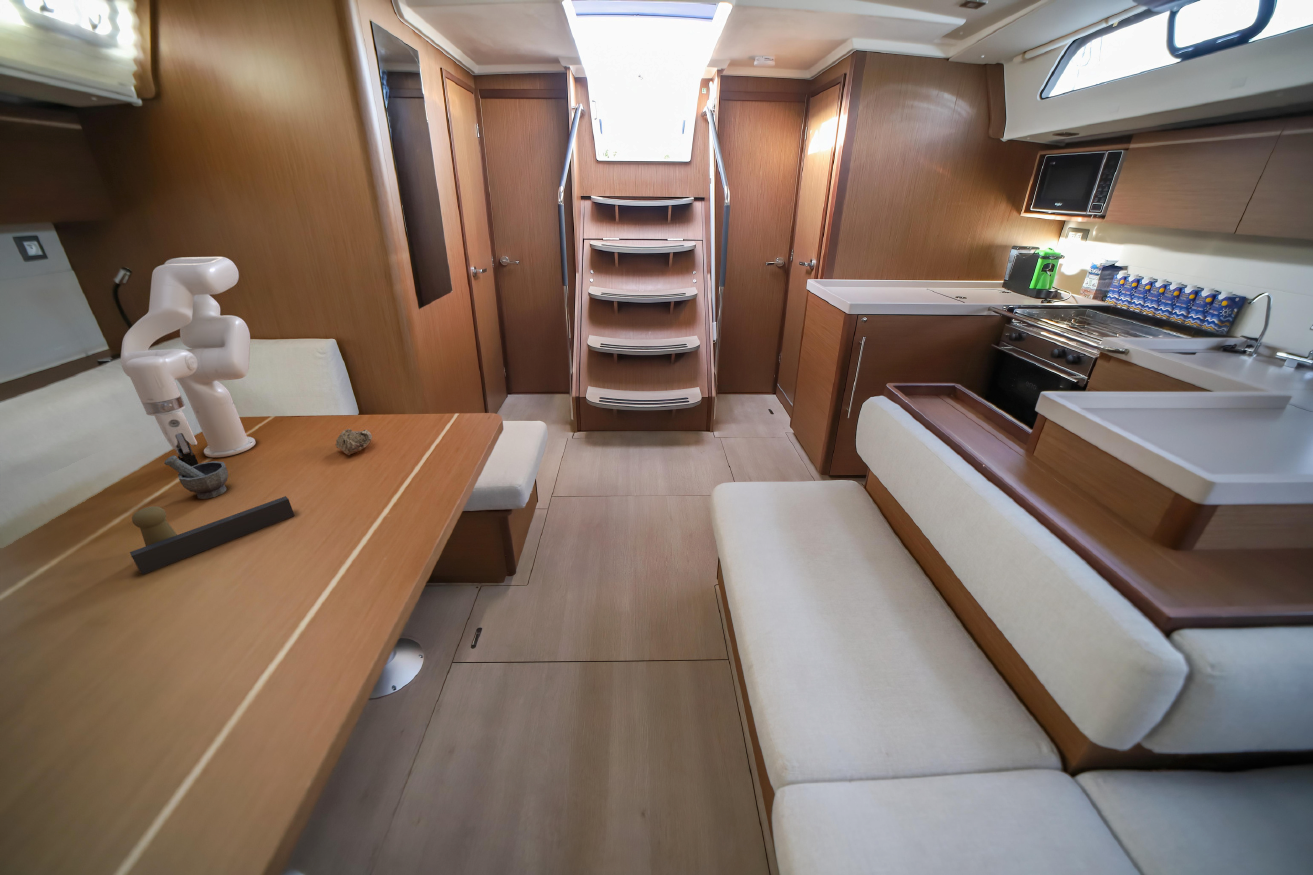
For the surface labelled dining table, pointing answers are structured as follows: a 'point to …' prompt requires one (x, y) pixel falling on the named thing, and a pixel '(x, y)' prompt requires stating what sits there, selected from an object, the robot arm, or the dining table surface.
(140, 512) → the cork
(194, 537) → the backstop rail
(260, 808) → the dining table surface
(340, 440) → the rough grey rock
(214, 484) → the mortar and pestle
